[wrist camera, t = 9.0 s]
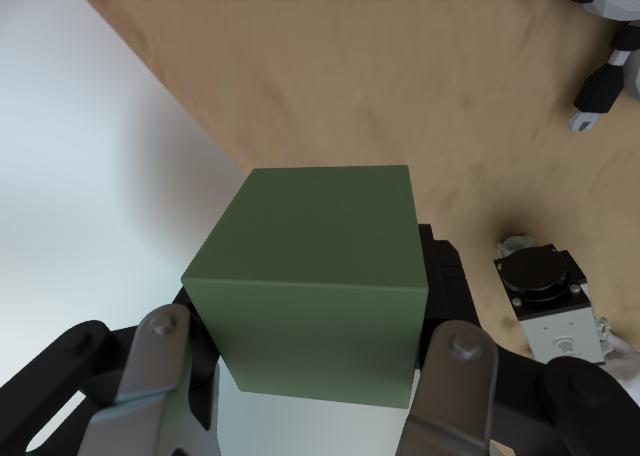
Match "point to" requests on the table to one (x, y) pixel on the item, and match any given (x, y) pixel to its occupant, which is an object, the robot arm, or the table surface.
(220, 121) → the table surface
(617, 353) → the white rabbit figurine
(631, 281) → the table surface
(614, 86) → the robot toy
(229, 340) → the cube
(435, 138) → the table surface
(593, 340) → the pneumatic valve
